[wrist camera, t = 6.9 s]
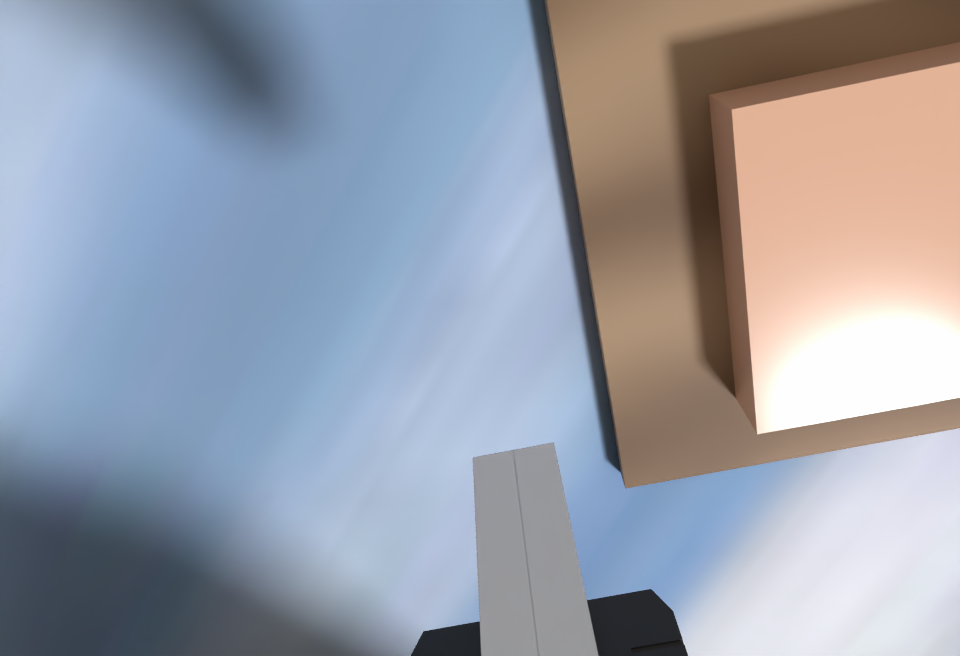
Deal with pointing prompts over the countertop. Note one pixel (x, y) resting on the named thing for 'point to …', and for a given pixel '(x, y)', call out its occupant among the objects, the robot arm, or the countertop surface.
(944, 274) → the tile
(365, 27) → the countertop surface
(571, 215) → the countertop surface
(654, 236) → the board
